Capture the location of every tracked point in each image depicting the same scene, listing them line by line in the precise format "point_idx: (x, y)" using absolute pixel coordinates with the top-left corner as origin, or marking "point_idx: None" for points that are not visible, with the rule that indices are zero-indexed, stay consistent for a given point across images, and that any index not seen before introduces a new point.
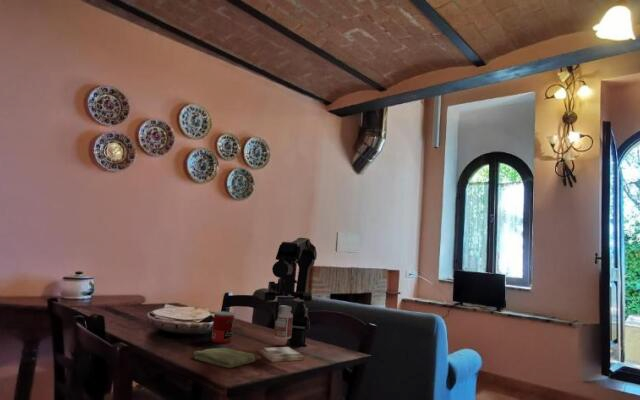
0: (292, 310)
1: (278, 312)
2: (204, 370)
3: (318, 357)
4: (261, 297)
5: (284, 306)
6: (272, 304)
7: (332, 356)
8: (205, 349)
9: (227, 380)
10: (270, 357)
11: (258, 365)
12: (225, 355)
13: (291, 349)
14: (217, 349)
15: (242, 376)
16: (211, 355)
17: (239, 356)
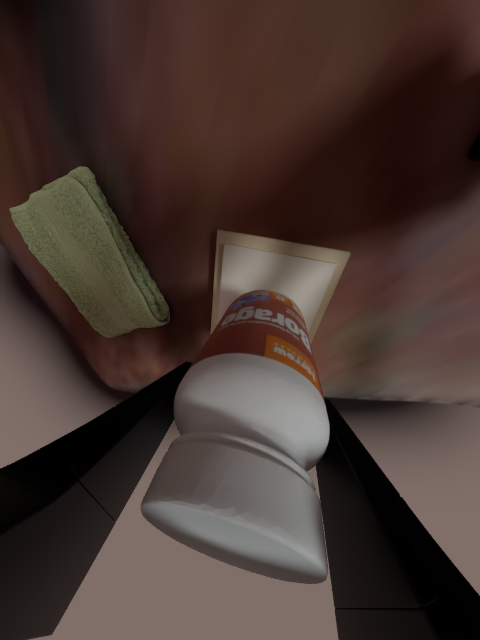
0: (354, 496)
1: (180, 424)
2: (72, 321)
3: (372, 350)
4: None
5: (204, 542)
6: (23, 499)
7: (431, 361)
8: (30, 196)
9: (109, 373)
10: (211, 323)
11: (173, 337)
12: (90, 301)
13: (312, 305)
14: (64, 226)
15: (131, 370)
16: (59, 285)
17: (121, 323)
